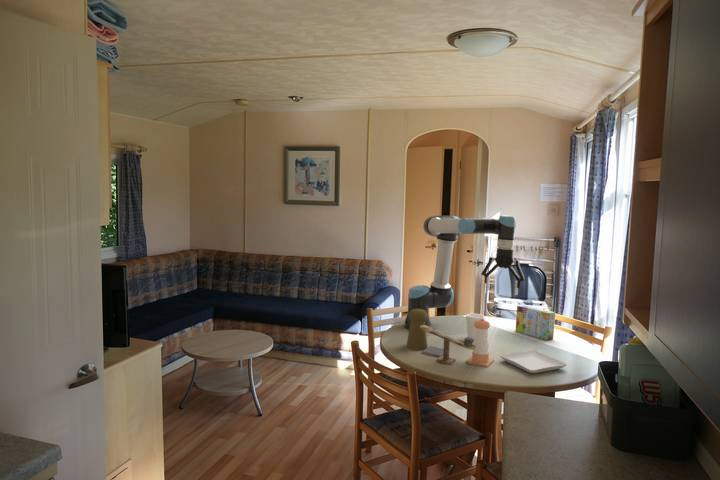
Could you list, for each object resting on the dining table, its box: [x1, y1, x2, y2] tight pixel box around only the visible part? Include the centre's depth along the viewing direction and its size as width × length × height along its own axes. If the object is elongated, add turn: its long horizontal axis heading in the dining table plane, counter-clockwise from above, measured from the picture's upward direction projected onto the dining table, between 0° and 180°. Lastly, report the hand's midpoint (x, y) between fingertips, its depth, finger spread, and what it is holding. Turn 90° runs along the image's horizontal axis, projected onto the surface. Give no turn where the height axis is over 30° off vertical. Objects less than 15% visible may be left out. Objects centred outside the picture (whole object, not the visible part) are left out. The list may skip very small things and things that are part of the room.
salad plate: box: [499, 349, 568, 374], centre depth 223 cm, size 21×21×3 cm
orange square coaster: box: [465, 355, 495, 368], centre depth 226 cm, size 10×10×1 cm
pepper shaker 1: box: [406, 309, 428, 352], centre depth 244 cm, size 10×10×19 cm
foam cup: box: [465, 313, 485, 342], centre depth 260 cm, size 10×9×13 cm
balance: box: [420, 325, 476, 365], centre depth 225 cm, size 27×6×15 cm, turn 58°
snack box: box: [515, 304, 556, 341], centre depth 271 cm, size 21×6×15 cm, turn 35°
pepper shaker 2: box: [471, 318, 491, 362], centre depth 225 cm, size 7×7×19 cm
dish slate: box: [421, 345, 444, 358], centre depth 238 cm, size 10×10×1 cm
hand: (501, 292), depth 235 cm, fingers open, 13 cm apart
